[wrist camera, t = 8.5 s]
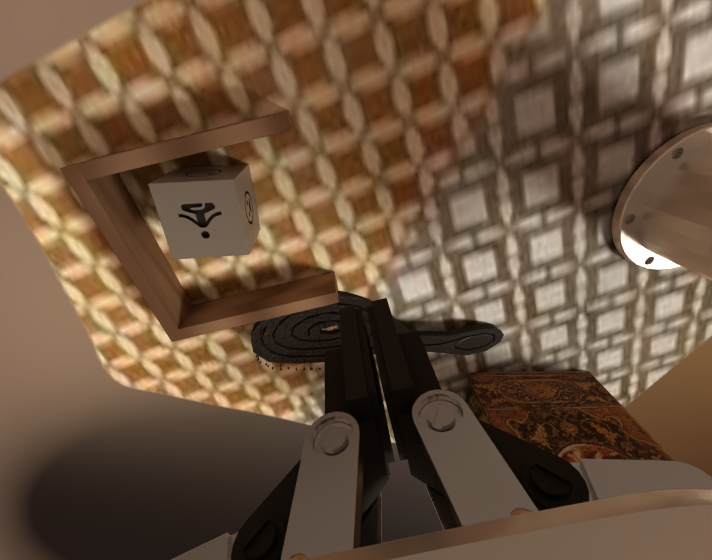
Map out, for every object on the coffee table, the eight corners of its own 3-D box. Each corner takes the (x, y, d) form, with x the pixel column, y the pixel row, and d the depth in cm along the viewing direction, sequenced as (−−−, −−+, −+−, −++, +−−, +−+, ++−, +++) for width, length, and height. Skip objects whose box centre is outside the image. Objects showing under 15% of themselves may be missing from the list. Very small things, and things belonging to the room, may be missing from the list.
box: (288, 110, 23) (283, 112, 20) (336, 281, 30) (338, 302, 27) (94, 158, 23) (60, 168, 20) (186, 316, 30) (171, 341, 27)
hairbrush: (498, 381, 35) (249, 384, 30) (482, 357, 38) (254, 356, 33) (529, 316, 31) (248, 307, 26) (507, 295, 34) (254, 283, 29)
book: (597, 370, 39) (945, 717, 17) (578, 403, 42) (859, 739, 20) (464, 371, 37) (669, 765, 15) (453, 405, 40) (614, 782, 18)
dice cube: (248, 163, 24) (233, 179, 20) (260, 228, 27) (249, 254, 23) (178, 167, 24) (147, 183, 20) (197, 232, 27) (173, 259, 22)
